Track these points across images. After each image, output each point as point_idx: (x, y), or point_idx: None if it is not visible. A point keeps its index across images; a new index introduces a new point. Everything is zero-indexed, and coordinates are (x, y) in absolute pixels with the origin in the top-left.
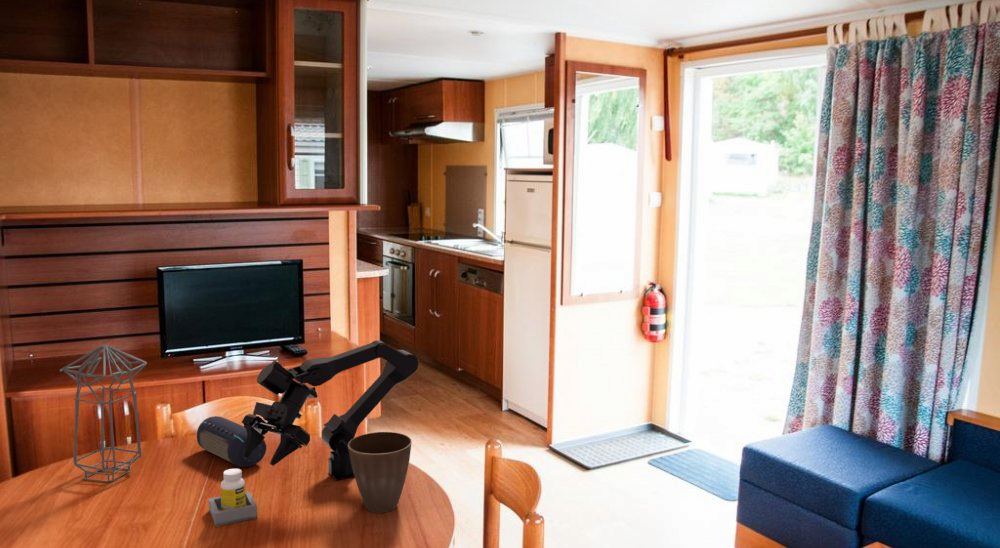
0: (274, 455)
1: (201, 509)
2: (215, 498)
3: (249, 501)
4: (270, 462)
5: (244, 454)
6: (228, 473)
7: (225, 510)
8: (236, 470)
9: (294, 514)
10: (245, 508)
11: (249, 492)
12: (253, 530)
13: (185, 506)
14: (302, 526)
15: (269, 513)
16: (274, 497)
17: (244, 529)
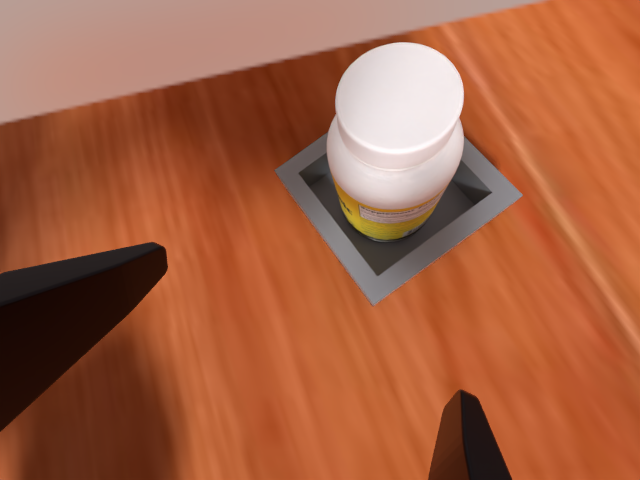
0: (85, 268)
1: (542, 220)
2: (491, 203)
3: (322, 205)
4: (154, 247)
5: (469, 404)
6: (408, 61)
7: None
8: (379, 118)
9: (173, 238)
10: (310, 145)
11: (363, 289)
12: (265, 113)
13: (636, 236)
14: (130, 165)
15: (259, 231)
16: (293, 374)
17: (295, 113)
